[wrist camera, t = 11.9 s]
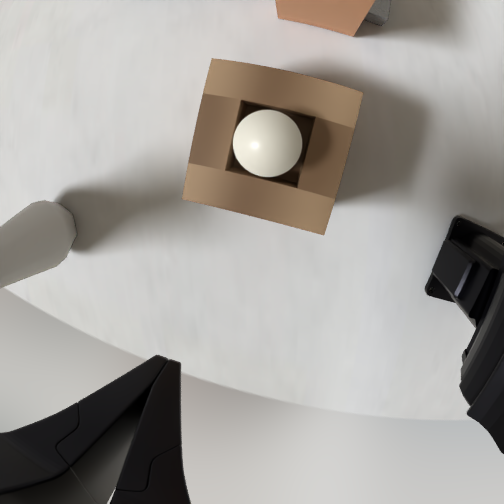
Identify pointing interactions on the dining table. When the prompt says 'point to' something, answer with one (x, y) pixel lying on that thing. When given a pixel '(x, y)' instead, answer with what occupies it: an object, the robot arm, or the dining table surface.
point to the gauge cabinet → (312, 154)
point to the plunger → (267, 143)
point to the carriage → (326, 13)
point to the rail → (378, 12)
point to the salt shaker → (35, 241)
